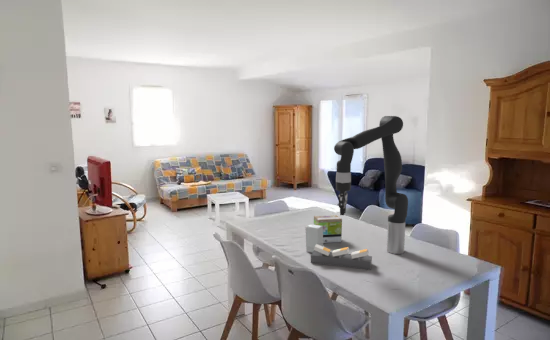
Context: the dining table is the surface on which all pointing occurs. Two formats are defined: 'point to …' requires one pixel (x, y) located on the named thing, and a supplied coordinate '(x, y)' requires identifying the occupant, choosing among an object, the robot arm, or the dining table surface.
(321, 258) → the power strip
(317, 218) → the tea box
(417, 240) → the dining table surface
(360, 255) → the block
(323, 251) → the block
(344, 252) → the block
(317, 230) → the skincare box
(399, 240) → the robot arm
